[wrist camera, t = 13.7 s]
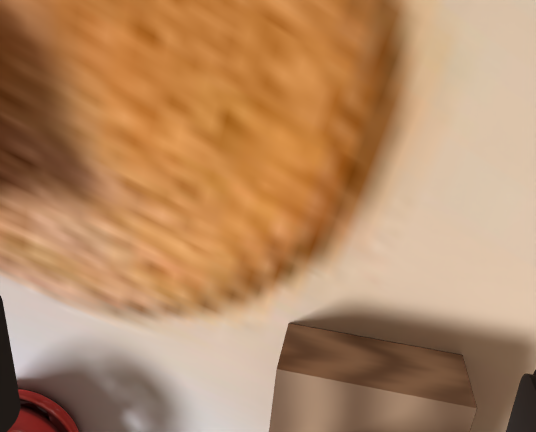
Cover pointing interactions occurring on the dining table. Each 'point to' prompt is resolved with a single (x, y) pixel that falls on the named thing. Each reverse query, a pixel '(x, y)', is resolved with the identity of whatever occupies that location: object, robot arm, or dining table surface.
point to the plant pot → (41, 415)
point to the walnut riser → (367, 386)
